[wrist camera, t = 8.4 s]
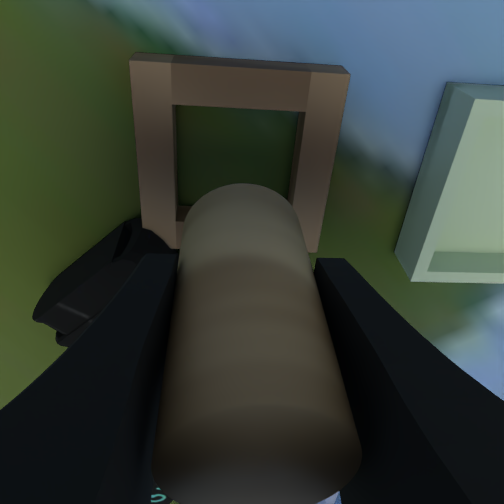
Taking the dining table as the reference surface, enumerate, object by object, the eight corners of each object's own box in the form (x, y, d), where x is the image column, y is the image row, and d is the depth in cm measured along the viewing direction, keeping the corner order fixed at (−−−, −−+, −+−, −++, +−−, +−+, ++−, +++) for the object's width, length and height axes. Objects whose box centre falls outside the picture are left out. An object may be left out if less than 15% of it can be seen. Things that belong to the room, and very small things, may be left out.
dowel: (289, 286, 12) (334, 516, 7) (180, 278, 12) (150, 517, 7) (311, 189, 10) (390, 407, 6) (185, 177, 10) (151, 399, 5)
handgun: (-36, 438, 25) (154, 487, 30) (-65, 494, 23) (147, 538, 27) (102, 180, 16) (344, 305, 21) (79, 225, 14) (361, 357, 18)
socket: (311, 235, 18) (316, 252, 17) (148, 231, 17) (144, 248, 16) (341, 65, 14) (350, 74, 13) (135, 52, 14) (128, 60, 13)
